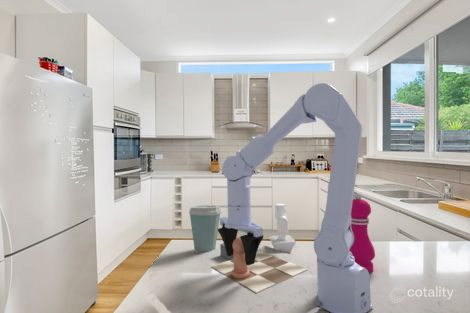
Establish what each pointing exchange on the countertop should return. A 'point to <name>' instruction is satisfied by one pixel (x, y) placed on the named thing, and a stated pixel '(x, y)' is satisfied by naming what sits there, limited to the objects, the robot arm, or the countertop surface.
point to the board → (262, 271)
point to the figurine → (282, 231)
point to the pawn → (239, 260)
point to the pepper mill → (361, 233)
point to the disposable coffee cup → (204, 226)
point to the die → (223, 252)
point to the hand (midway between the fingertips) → (240, 259)
